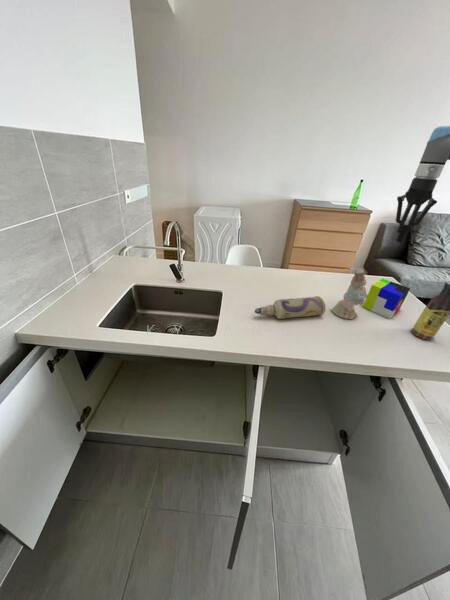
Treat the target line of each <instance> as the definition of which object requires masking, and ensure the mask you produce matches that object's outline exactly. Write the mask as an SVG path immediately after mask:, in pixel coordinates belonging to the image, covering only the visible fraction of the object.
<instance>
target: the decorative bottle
mask: <svg viewBox="0 0 450 600" xmlns="http://www.w3.org/2000/svg"><path fill="white" fill-rule="evenodd" d="M325 312H326V302H325V300H324V299H323V298H322V297H321V296H318V295H316V296H308V297H307V296H306V297H296V298H295V297H294V298H283V299H276V300H274V302H273V304H268V305H266V306H260V307H257V308H255V309H254V313H255V314H257V315H260V316H273V315H274V316H275V317H276V318H277V319H282V320H283V319H291V318H302V317H311V316H312V317H313V316H323V315H324V314H325Z"/></svg>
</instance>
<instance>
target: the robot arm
mask: <svg viewBox="0 0 450 600" xmlns="http://www.w3.org/2000/svg"><path fill="white" fill-rule="evenodd" d="M447 161H450V125H442V126H437V127H435V128H434V129H433V131H431V135H430V137H429V138H428V141H427V142H426V146H425V148H424V151H423V154H422V156H421V157H420V161H419V163H418V166H417V168H416V169H415V173H414V178H412V180H411V183H410V184H409V187H408V189H407V191H405V194H402V195H399V196H398V195H397V197H396V200H397V207H396V214H395V215H396V216H395V223H397V224H398V227H397V230H396V233H397V237H396V239H395V240H396V242H397V243H402V241H403V240H404V237H405V235H408V234H409V233H410V231H411V229H412V227H413V226H418V225H419V224H420V223H421V222H422V220H423V219H424V218H425V216H426V215H427V213H428V212H429V211H430V210H431V208H432V207H434V206H435V205H436V204H437V203H438V201H437V200H436V199H434V198H433V192H434V190H435V188H436V185H437V184H438V178H440V176H441V174H442V172H443V170H444V168H445V165H446V164H447ZM405 200H406V202H407V205H406V207H405V210H404V212H403V215H402V210H403V202H404V201H405ZM426 202H427V204H426V205H425V207H424V208H423V210H421V212H420V213H419V211H420V209H421V207H422V206H423V205H424V204H425V203H426ZM413 206H414V208H413ZM412 208H413V210H412ZM411 211H412V212H411ZM410 213H411V215H410V217H409V214H410ZM418 213H419V215H418ZM408 217H409V220H408V222H407V219H408ZM406 222H407V224H405V223H406Z"/></svg>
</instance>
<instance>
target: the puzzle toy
mask: <svg viewBox="0 0 450 600" xmlns="http://www.w3.org/2000/svg"><path fill="white" fill-rule="evenodd" d="M410 291H411V287H408V286H405V285H402V284H399V283H396V282H394V281H391V280H388V279H385V278H381V279H379V280H377V281H376V282H374V283H372V284H371V287H370V288H369V291H368V294H367V295H368V297H367V298H365V299H364V304H362V307H363V308H364V309H367V310H369V311H371V312H373V313H375V314H378V315H380V316H382V317H384V318H387V319H388V320H390V319H391V318H392V317H393V316H394V315H396V313H398V312H400V309H401V308H402V306H403V303H404V301H405V300H406V298H407V296H408V294H409V292H410Z"/></svg>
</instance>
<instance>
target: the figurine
mask: <svg viewBox="0 0 450 600" xmlns="http://www.w3.org/2000/svg"><path fill="white" fill-rule="evenodd" d="M366 285H367V279H366V276H365V270H364V268H362V267H357V268H356V269H355V270H354V276H352V278H351V281H350V284H349V286H348V288H347V289H346V291H345V292H344V294H343V299H342V300H339V301H338V302H337V303H336V304H335V306H334V307H332V308H331V311H332V312H333V314H335V315H336V316H338V317H340V318H341V319H342V318H343V319H345V320H346V319H347V320H353V319H354V318H355V317H356V316H357V313H356V311H355V306H363V305H364V303H365V299H366V298H367V297H368V294H367V290H366V287H365V286H366Z"/></svg>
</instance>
